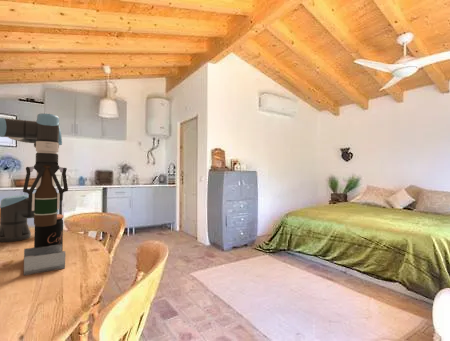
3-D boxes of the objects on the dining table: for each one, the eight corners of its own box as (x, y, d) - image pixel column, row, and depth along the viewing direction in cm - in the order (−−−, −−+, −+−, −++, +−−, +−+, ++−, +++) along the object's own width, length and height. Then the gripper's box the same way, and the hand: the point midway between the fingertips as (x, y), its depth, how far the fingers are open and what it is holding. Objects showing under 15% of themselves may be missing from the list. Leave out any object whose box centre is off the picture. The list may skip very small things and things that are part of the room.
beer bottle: (54, 226, 103) (56, 165, 103) (30, 227, 100) (32, 164, 100) (58, 222, 110) (60, 165, 110) (36, 223, 107) (37, 164, 107)
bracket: (23, 264, 106) (24, 248, 106) (61, 258, 114) (61, 244, 114) (23, 275, 96) (24, 257, 96) (64, 268, 104) (65, 251, 104)
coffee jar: (48, 261, 111) (49, 219, 111) (27, 258, 113) (28, 217, 113) (68, 253, 121) (69, 214, 121) (48, 251, 123) (49, 213, 123)
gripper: (14, 150, 96) (12, 212, 96) (77, 154, 108) (76, 209, 108) (15, 151, 102) (13, 210, 102) (74, 154, 114) (73, 206, 114)
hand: (45, 209), depth 105 cm, fingers closed on beer bottle, 7 cm apart
